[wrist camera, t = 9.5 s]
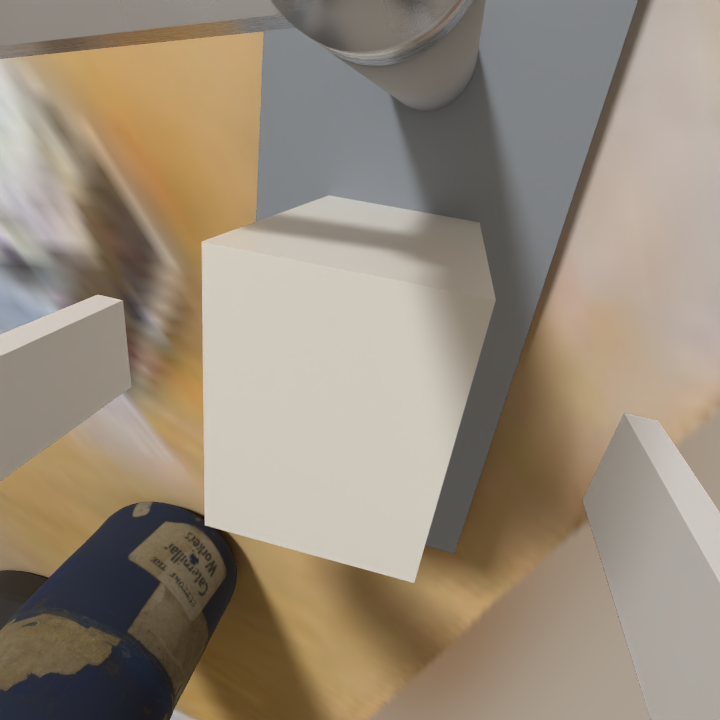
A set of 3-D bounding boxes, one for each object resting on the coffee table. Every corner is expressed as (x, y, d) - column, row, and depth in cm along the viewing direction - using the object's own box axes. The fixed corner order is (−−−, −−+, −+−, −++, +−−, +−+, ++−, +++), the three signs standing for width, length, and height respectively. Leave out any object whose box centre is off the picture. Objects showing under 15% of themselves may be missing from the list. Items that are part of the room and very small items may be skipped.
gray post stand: (454, 536, 26) (449, 788, 16) (253, 484, 27) (128, 684, 17) (649, -61, 14) (1094, -558, 4) (282, -98, 16) (-42, -535, 6)
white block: (434, 399, 21) (414, 583, 12) (309, 371, 22) (204, 525, 13) (479, 222, 18) (495, 299, 9) (328, 195, 18) (201, 241, 9)
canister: (124, 577, 34) (-182, 966, 18) (104, 475, 30) (-318, 862, 14) (247, 609, 32) (36, 1061, 16) (245, 507, 28) (-41, 979, 12)
